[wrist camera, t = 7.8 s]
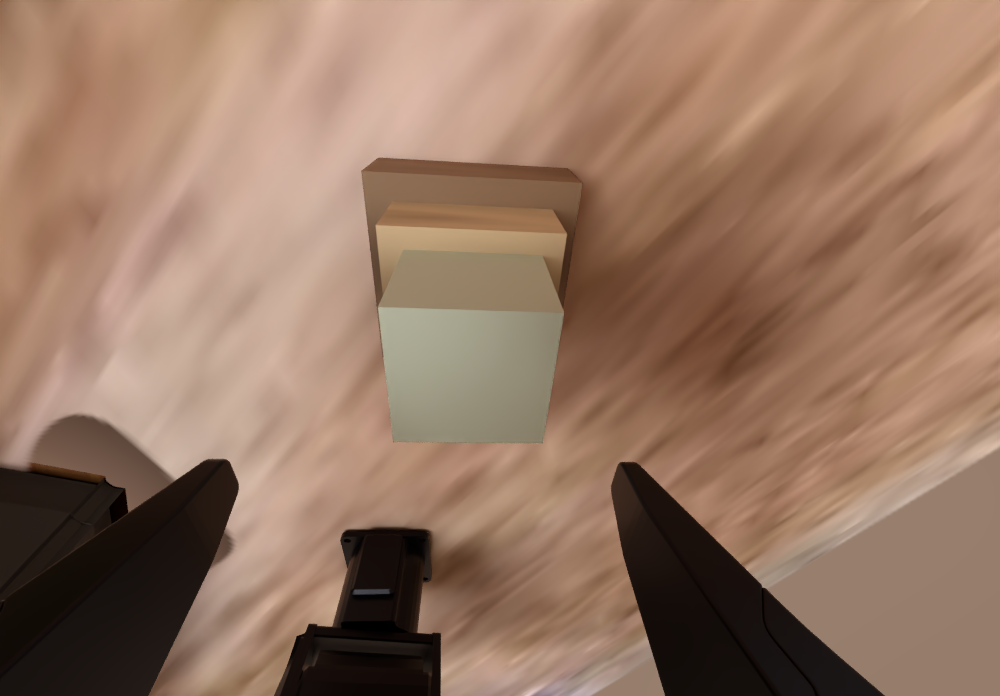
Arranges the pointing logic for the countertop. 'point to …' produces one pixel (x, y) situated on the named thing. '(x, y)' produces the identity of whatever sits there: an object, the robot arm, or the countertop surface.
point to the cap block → (469, 346)
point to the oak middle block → (469, 233)
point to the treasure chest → (50, 518)
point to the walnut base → (470, 195)
